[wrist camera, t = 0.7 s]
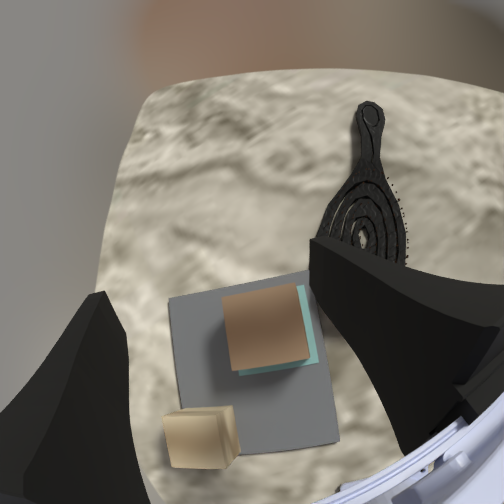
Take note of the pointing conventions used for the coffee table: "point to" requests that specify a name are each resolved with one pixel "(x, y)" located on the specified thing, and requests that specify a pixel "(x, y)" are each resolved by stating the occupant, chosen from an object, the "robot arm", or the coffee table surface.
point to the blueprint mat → (255, 373)
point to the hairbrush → (368, 196)
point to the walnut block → (265, 327)
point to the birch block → (202, 437)
